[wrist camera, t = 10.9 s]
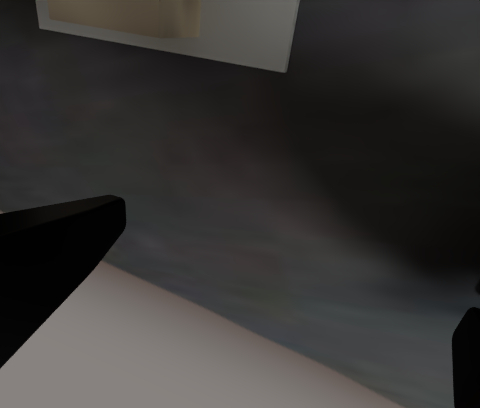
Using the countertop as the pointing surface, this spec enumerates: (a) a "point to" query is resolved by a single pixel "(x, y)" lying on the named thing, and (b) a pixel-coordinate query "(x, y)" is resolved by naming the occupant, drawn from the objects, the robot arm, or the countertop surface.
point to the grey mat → (213, 32)
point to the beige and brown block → (132, 16)
